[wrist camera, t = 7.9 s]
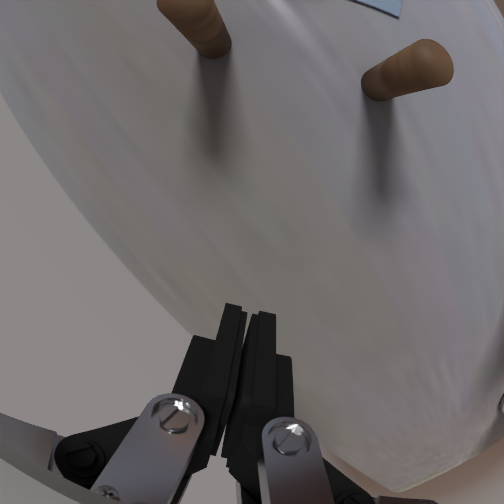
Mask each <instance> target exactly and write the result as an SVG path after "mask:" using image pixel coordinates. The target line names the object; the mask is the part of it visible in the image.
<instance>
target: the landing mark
mask: <svg viewBox="0 0 504 504" xmlns="http://www.w3.org/2000/svg"><path fill="white" fill-rule="evenodd" d="M355 1H358V2H360V3H363V4H366V5H369V6H371V7H374V8H377V9H379V10H382V11H384V12H386V13H389V14H391V15H394V16H396V17H399V14H400V7H401V0H355Z"/></svg>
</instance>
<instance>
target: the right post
mask: <svg viewBox="0 0 504 504" xmlns="http://www.w3.org/2000/svg"><path fill="white" fill-rule="evenodd" d="M453 72H454V68H453V63H452V60H451V57H450V55H449V54H448V52H447V51H446V50H445V49H444V47H442V46H441V45H440V44H439V43H437V42H435V41H433V40H430V39H421V40H418V41H417V42H415V43H413V44H411V45H410V46H408V47H406V48H404V49H403V50H401V51H399V52H398V53H396V54H394V55H393V56H391V57H389V58H388V59H386V60H384V61H383V62H381V63H379V64H378V65H376V66H375V67H373V68H371V69H370V70H368V71H367V72H365V73H364V75H363V76H362V80H361V85H362V89H363V91H364V92H365V94H366V95H367V96H368V97H370V98H371V99H373V100H376V101H383V100H387V99H390V98H394V97H398V96H402V95H406V94H410V93H414V92H418V91H422V90H426V89H430V88H435V87H439V86H444V85H446V84H448V83H449V82H450V81H451V79H452V77H453Z"/></svg>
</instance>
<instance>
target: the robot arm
mask: <svg viewBox="0 0 504 504" xmlns="http://www.w3.org/2000/svg"><path fill="white" fill-rule="evenodd" d="M241 310H242V307H241V306H237V305H233V304H229V303H226V305H225V308H224V312H223V315H222V319H221V322H220V326H219V330H218V333H217V337H216V340H212V339H208V338H204V337H200V336H196V335H194V336H193V338H192V340H191V343H190V345H189V348H188V350H187V353H186V356H185V358H184V361H183V364H182V367H181V369H180V372H179V374H178V377H177V380H176V383H175V385H174V388H173V391H172V393H171V394H169V393H168V394H162V395H159V396H157V397H155V398H153V399H152V400H151V401H150V402H149V403H148V404H147V406H146V407H145V409H144V410H143V412H142V413H141V415H140V416H139V417H135V418H132V419H129V420H126V421H122V422H119V423H116V424H112V425H108V426H105V427H102V428H98V429H94V430H90V431H86V432H82V433H78V434H74V435H71V436H68V437H63V436H60V435H57V433H56V432H55V431H52V430H48V429H45V428H42V427H39V426H35V425H32V424H29V423H26V422H23V421H21V420H18V419H15V418H12V417H10V416H7V415H5V414H2V413H0V504H180V502H181V499H182V497H183V495H184V493H185V491H186V488H187V486H188V484H189V482H190V479H191V477H192V474H194V473H196V472H198V471H200V470H202V469H204V468H206V467H207V464H208V461H209V458H210V455H213V456H216V453H217V450H218V447H219V444H220V441H221V438H222V435H223V432H224V429H225V426H226V429H225V435H224V442H223V447H222V454H221V457H223V458H227V465H226V467H228V468H229V473H230V474H231V475H232V476H233V477H234V478H235V479H236V480H237V482H236V492H237V504H438V503H437V502H435V501H433V500H427V499H410V498H398V497H389V496H378V497H377V498H375V497H371V496H370V495H369V494H368V493H367V492H366V491H365V490H363V489H362V488H361V487H359V486H358V485H357V484H355V483H354V482H353V481H351V480H350V479H349V478H348V477H346V476H345V475H344V474H343V473H341V472H340V471H339V470H337V469H336V468H335V467H334V466H332V465H331V464H330V463H329V462H328V461H326V460H325V459H324V458H323V457H322V454H321V450H320V447H319V443H318V439H317V437H316V434H315V432H314V431H313V430H312V428H311V427H310V426H309V425H307V424H306V423H304V422H303V421H301V420H298V419H296V418H294V396H293V375H292V360H291V357H290V356H284V355H279V354H276V314H272V313H267V312H263V311H259V313H258V315H257V314H252V316H251V319H250V323H249V327H248V330H247V334H246V337H245V341H244V344H243V339H244V332H245V325H246V319H247V312H244V311H241ZM242 345H243V348H242ZM500 409H501V410H502V412H503V413H504V396H503V398H502V401H501V404H500Z"/></svg>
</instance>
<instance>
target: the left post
mask: <svg viewBox="0 0 504 504" xmlns="http://www.w3.org/2000/svg"><path fill="white" fill-rule="evenodd" d="M157 7H158V9H159V11H160V12H161V13H162V14H163V15H164V16H165V17H166V18H167V19H168V20H169V21H170V22H171V23H172V24H173V25H174V26H175V27H176V28H177V29H178V30H179V31H180V32H181V33H182V34H183V35H184V36H185V38H186V39H187V40H188V41H189V42H190V43H191V44H192V45H193V46H194V47H195V48H196V49H197V50H198V52H199V53H200V54H201V55H202V56H204V57H206V58H210V59H215V58H219V57H222V56H223V55H225V54H226V53H227V52H228V51H229V49H230V47H231V38H230V35H229V33H228V31H227V29H226V26H225V24H224V22H223V20H222V17H221V15H220V13H219V11H218V9H217V6H216V4H215V2H214V0H157Z"/></svg>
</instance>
